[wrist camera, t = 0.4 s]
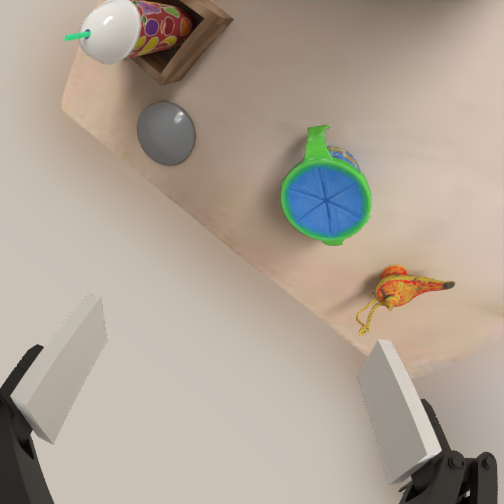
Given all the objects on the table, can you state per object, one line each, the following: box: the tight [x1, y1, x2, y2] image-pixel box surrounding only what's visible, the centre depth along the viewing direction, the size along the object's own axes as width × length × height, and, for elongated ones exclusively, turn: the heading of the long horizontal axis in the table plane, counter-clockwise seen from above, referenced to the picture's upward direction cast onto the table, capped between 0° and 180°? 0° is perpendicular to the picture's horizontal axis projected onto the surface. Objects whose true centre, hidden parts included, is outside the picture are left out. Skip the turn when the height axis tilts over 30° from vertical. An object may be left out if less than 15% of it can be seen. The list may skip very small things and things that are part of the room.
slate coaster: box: [137, 102, 196, 165], centre depth 43 cm, size 11×11×1 cm
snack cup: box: [281, 125, 372, 246], centre depth 35 cm, size 16×10×10 cm
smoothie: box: [65, 0, 193, 65], centre depth 23 cm, size 8×8×20 cm
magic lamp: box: [356, 265, 455, 336], centre depth 41 cm, size 7×18×11 cm, turn 132°
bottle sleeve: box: [131, 0, 233, 85], centre depth 29 cm, size 12×12×5 cm
